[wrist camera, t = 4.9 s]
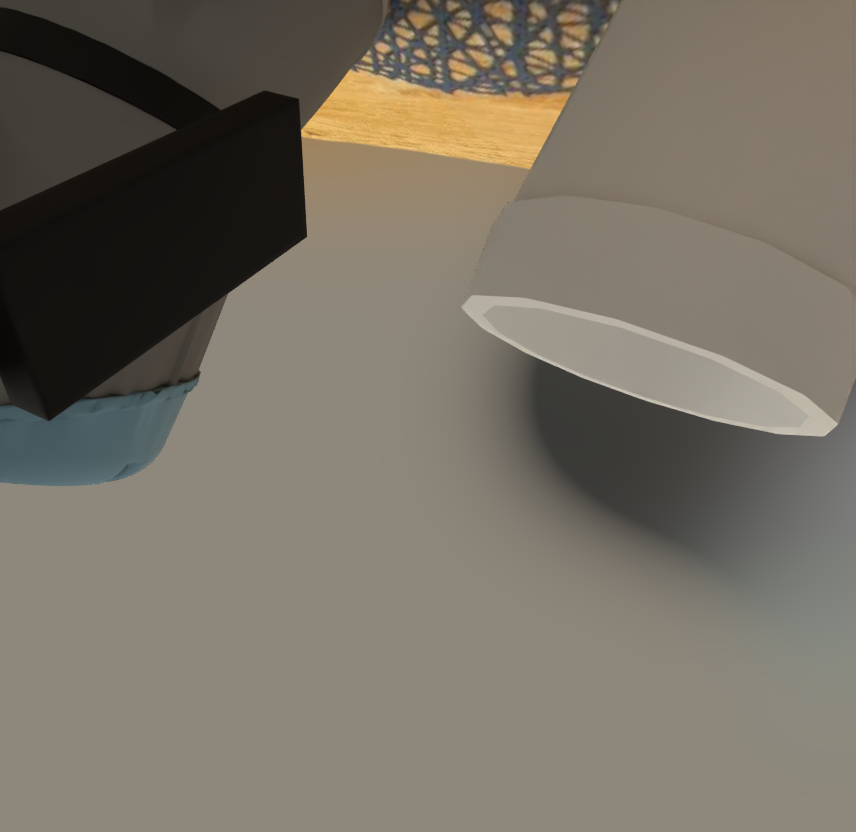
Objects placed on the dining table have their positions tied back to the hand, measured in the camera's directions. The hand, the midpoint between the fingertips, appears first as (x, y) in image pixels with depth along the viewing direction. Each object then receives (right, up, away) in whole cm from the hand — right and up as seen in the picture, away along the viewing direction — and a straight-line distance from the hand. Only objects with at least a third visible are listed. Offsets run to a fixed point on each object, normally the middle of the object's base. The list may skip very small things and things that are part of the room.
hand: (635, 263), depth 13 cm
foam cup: (+7, +11, +7) cm, 15 cm away
